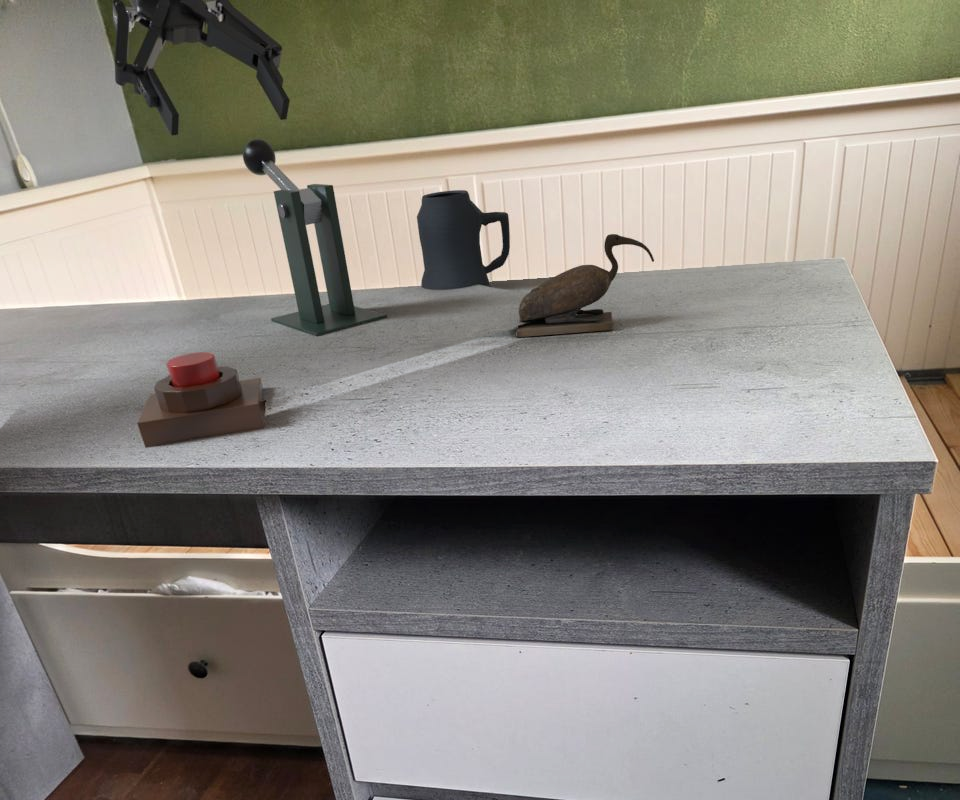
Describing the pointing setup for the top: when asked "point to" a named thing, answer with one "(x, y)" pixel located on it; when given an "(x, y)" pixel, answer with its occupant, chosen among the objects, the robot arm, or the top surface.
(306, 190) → the lever
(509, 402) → the top surface
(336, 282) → the bracket
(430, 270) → the mug
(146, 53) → the robot arm
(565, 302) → the figurine
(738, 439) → the top surface
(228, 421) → the button block
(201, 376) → the button
